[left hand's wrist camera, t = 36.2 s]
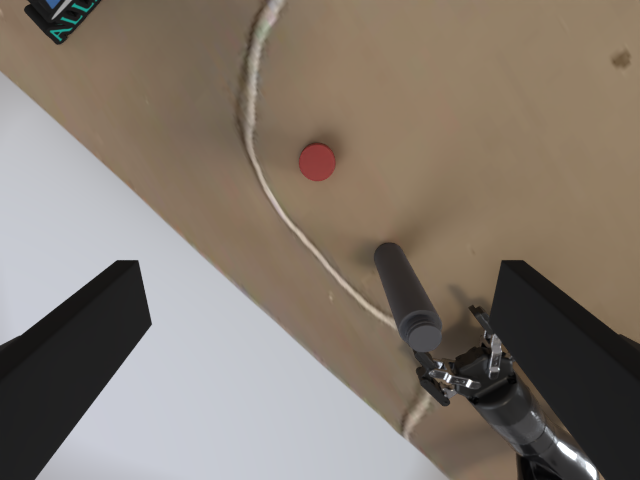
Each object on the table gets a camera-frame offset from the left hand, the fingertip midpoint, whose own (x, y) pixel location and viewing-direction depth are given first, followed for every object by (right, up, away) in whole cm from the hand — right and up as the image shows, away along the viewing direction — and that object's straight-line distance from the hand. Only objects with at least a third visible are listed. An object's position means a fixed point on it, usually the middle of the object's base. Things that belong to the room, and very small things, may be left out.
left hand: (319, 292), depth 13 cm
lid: (0, +11, +29) cm, 31 cm away
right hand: (+16, -9, +32) cm, 37 cm away
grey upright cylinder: (+10, 0, +35) cm, 36 cm away
